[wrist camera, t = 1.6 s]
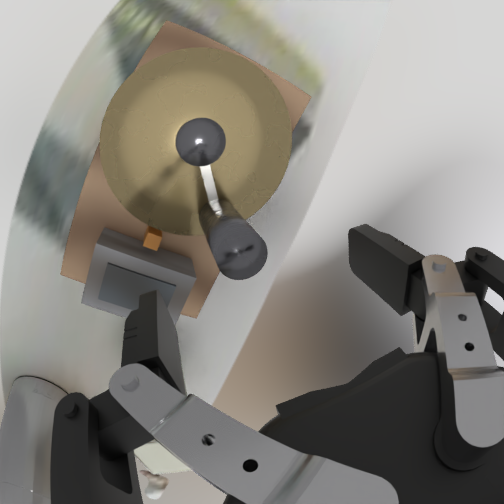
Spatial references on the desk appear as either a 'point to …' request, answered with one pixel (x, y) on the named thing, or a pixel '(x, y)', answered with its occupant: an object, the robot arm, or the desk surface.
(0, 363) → the desk surface
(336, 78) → the desk surface
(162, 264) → the tan piece
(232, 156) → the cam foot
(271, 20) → the desk surface
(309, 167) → the desk surface
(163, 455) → the skincare box
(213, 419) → the robot arm
